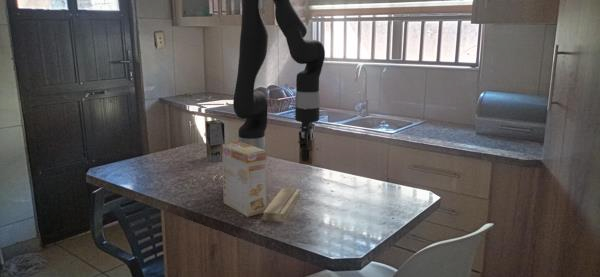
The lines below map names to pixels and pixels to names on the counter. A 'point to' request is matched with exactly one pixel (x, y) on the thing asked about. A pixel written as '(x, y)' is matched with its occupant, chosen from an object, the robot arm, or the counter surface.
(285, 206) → the board
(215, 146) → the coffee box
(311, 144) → the brown block with peg
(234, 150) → the coffeecake box
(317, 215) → the counter surface
